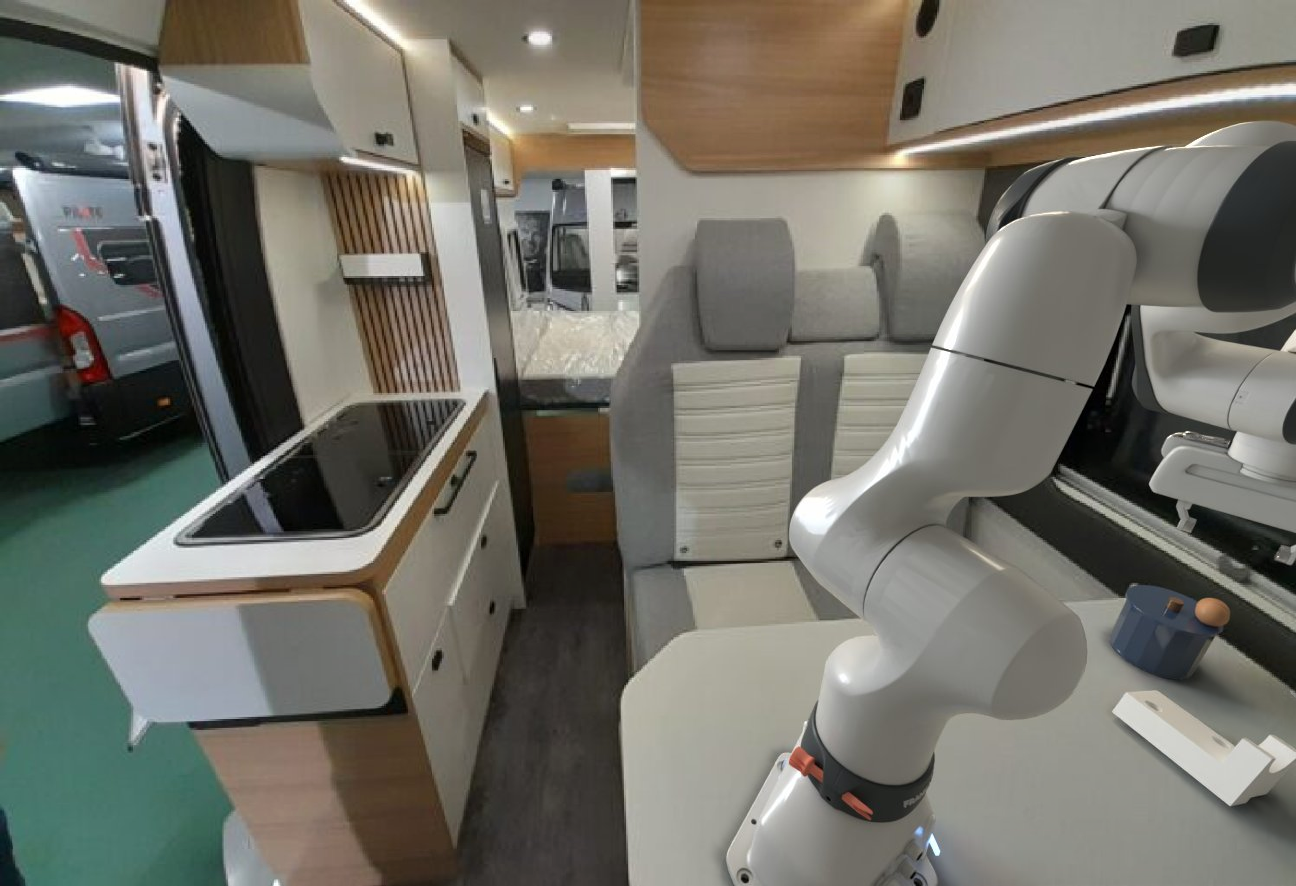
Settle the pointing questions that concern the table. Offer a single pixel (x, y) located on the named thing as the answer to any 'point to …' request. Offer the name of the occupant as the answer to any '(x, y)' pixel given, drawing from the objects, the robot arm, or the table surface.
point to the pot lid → (1169, 610)
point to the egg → (1212, 612)
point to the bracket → (1207, 748)
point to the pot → (1156, 645)
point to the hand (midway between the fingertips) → (1230, 545)
